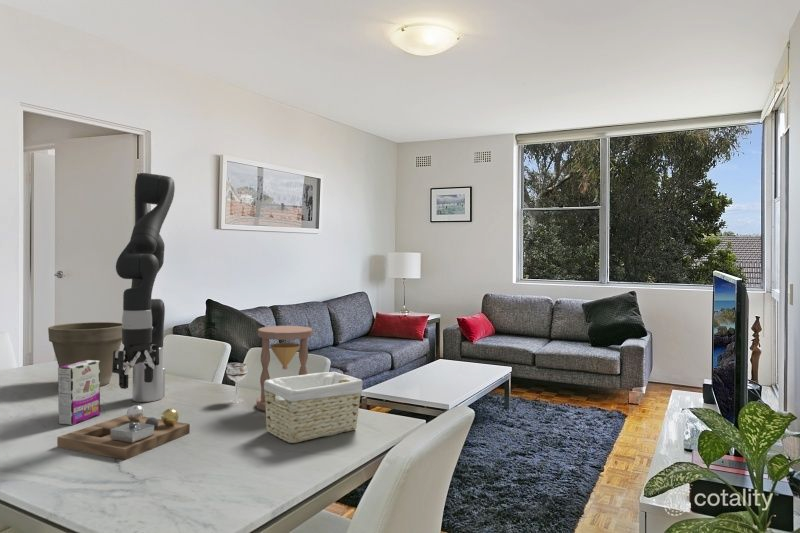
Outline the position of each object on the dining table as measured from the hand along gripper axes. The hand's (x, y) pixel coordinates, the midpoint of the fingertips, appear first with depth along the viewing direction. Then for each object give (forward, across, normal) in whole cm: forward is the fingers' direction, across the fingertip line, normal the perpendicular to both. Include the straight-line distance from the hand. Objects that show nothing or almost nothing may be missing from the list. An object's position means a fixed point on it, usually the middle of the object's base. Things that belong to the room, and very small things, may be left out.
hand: (136, 385), depth 156 cm
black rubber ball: (+10, -4, -9) cm, 14 cm away
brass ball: (+10, +1, -11) cm, 15 cm away
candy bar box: (+12, +1, +22) cm, 26 cm away
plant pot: (+12, +34, +57) cm, 68 cm away
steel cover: (+10, -11, -10) cm, 18 cm away
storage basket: (+13, +19, -44) cm, 50 cm away
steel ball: (+10, 0, 0) cm, 10 cm away
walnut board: (+13, -7, -4) cm, 15 cm away
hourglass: (+13, +39, -23) cm, 47 cm away
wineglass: (+12, +37, -6) cm, 39 cm away
